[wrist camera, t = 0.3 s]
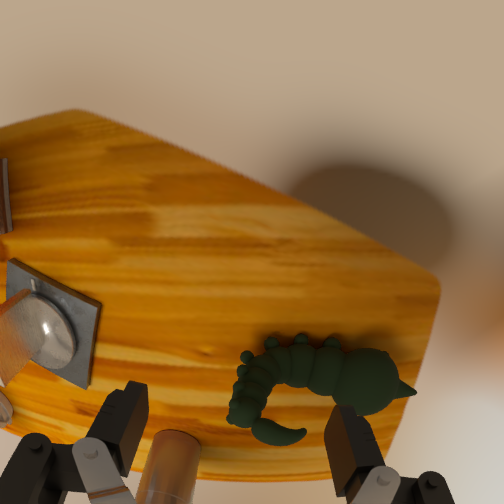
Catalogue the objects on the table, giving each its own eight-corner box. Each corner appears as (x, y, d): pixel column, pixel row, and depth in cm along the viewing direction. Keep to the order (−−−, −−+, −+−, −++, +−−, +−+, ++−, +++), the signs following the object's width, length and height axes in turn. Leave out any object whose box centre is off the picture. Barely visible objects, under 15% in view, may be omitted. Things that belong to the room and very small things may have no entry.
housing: (89, 384, 48) (85, 390, 46) (12, 341, 46) (7, 345, 44) (101, 303, 43) (96, 308, 41) (12, 257, 41) (6, 261, 39)
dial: (83, 370, 44) (47, 424, 31) (26, 356, 44) (-13, 400, 31) (64, 288, 40) (10, 334, 27) (5, 281, 40) (-48, 317, 27)
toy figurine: (240, 363, 47) (390, 383, 46) (217, 459, 29) (422, 470, 28) (249, 310, 44) (411, 335, 43) (227, 402, 26) (460, 419, 25)
